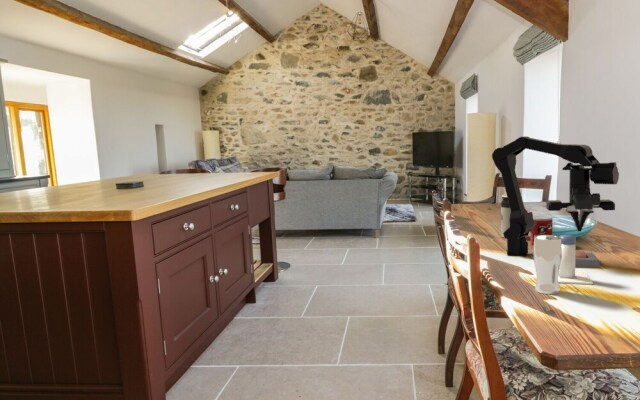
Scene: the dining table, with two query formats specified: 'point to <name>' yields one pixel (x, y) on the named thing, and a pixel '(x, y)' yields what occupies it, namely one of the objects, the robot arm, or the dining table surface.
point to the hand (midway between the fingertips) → (579, 231)
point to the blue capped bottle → (568, 256)
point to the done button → (580, 254)
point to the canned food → (541, 227)
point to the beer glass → (547, 263)
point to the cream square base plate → (576, 279)
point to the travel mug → (505, 214)
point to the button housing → (587, 261)
